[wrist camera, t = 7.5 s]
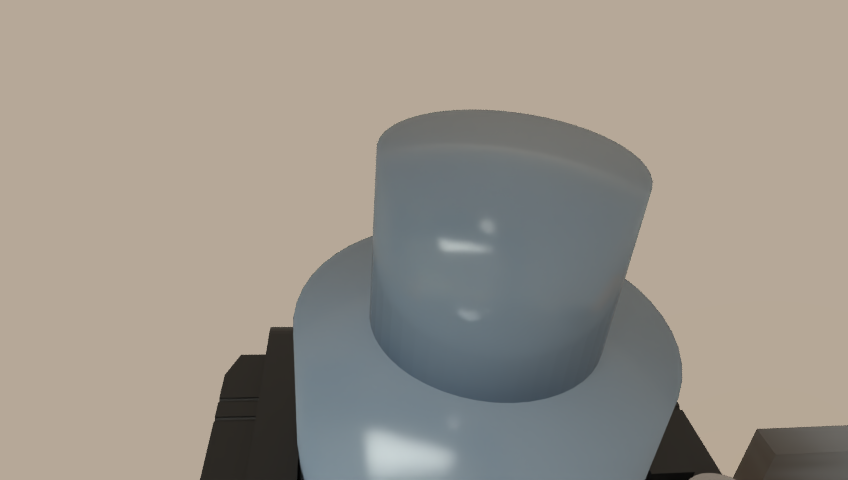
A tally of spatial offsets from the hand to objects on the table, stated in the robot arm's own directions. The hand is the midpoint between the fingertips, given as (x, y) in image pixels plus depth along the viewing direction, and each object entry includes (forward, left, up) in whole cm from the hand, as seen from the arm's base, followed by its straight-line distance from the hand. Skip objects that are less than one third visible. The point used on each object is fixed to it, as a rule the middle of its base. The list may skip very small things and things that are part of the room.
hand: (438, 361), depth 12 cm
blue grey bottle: (0, -2, -7) cm, 7 cm away
